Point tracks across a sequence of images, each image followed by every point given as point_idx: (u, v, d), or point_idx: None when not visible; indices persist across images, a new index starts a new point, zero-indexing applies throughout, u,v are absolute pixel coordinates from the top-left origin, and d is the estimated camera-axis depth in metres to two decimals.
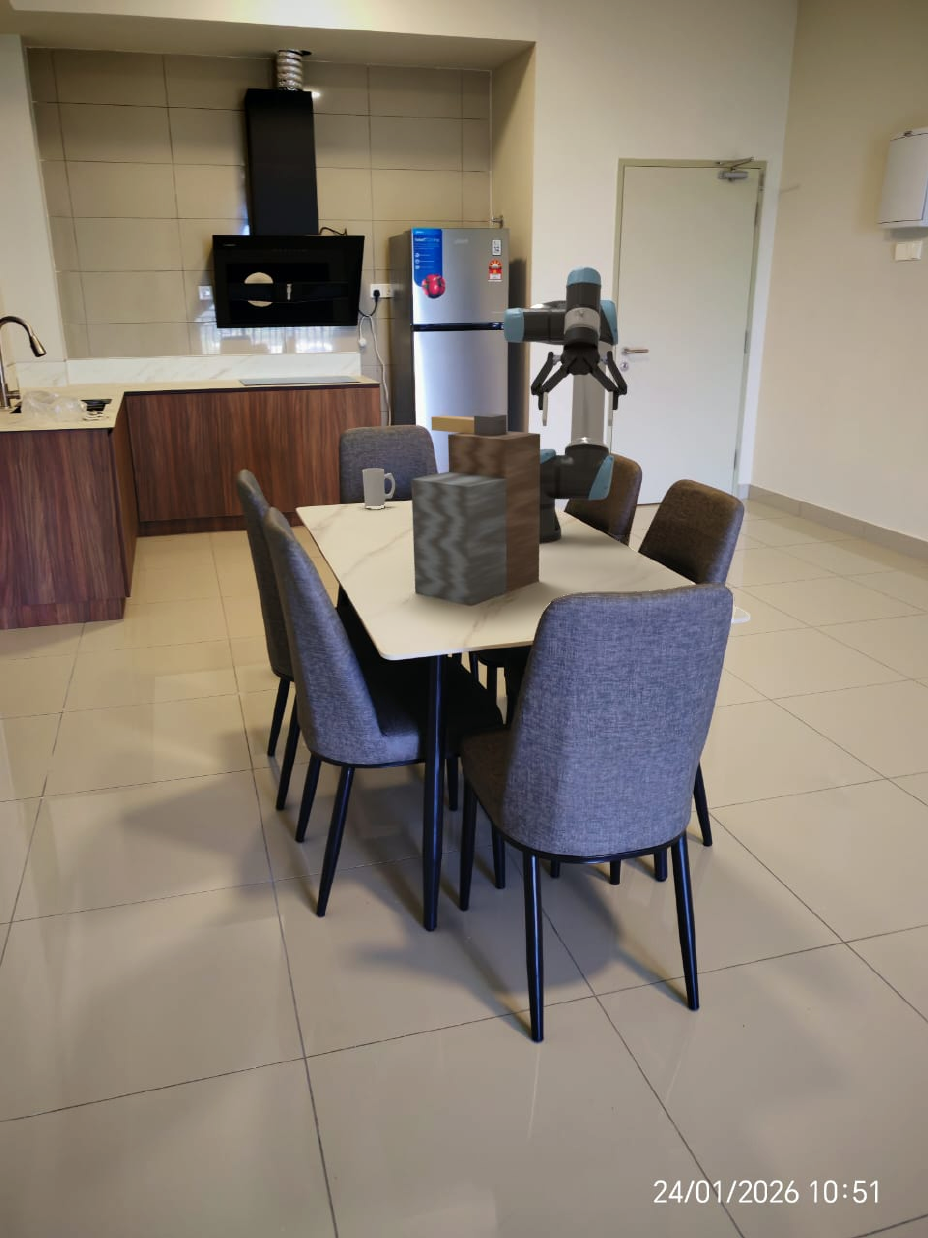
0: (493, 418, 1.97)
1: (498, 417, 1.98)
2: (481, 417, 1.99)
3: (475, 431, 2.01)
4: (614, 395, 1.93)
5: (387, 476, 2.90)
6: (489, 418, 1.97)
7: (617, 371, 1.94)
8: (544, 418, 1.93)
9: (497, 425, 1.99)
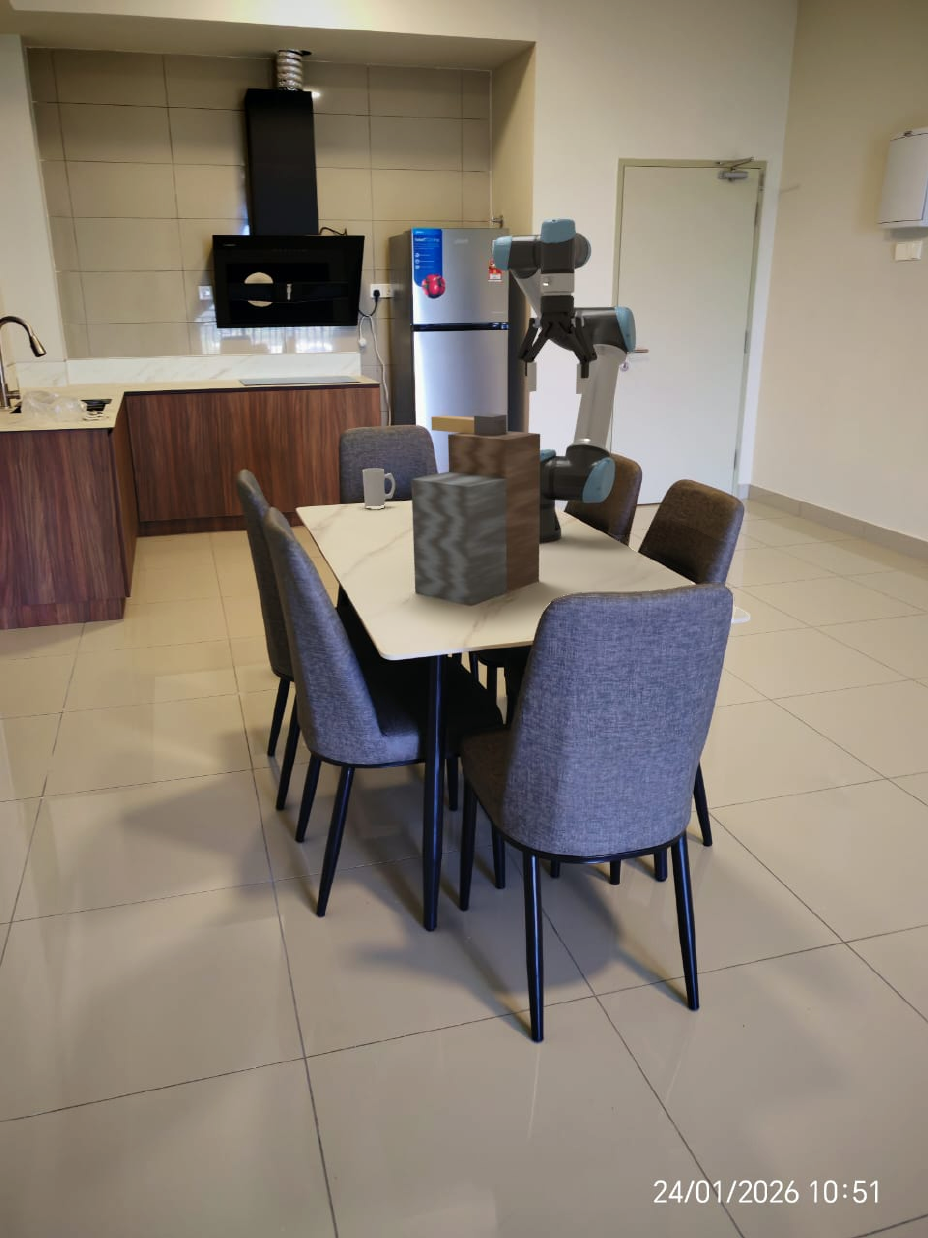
0: (493, 418, 1.97)
1: (498, 417, 1.98)
2: (481, 417, 1.99)
3: (475, 431, 2.01)
4: (582, 366, 2.06)
5: (387, 476, 2.90)
6: (489, 418, 1.97)
7: (583, 340, 2.03)
8: (528, 390, 2.16)
9: (497, 425, 1.99)
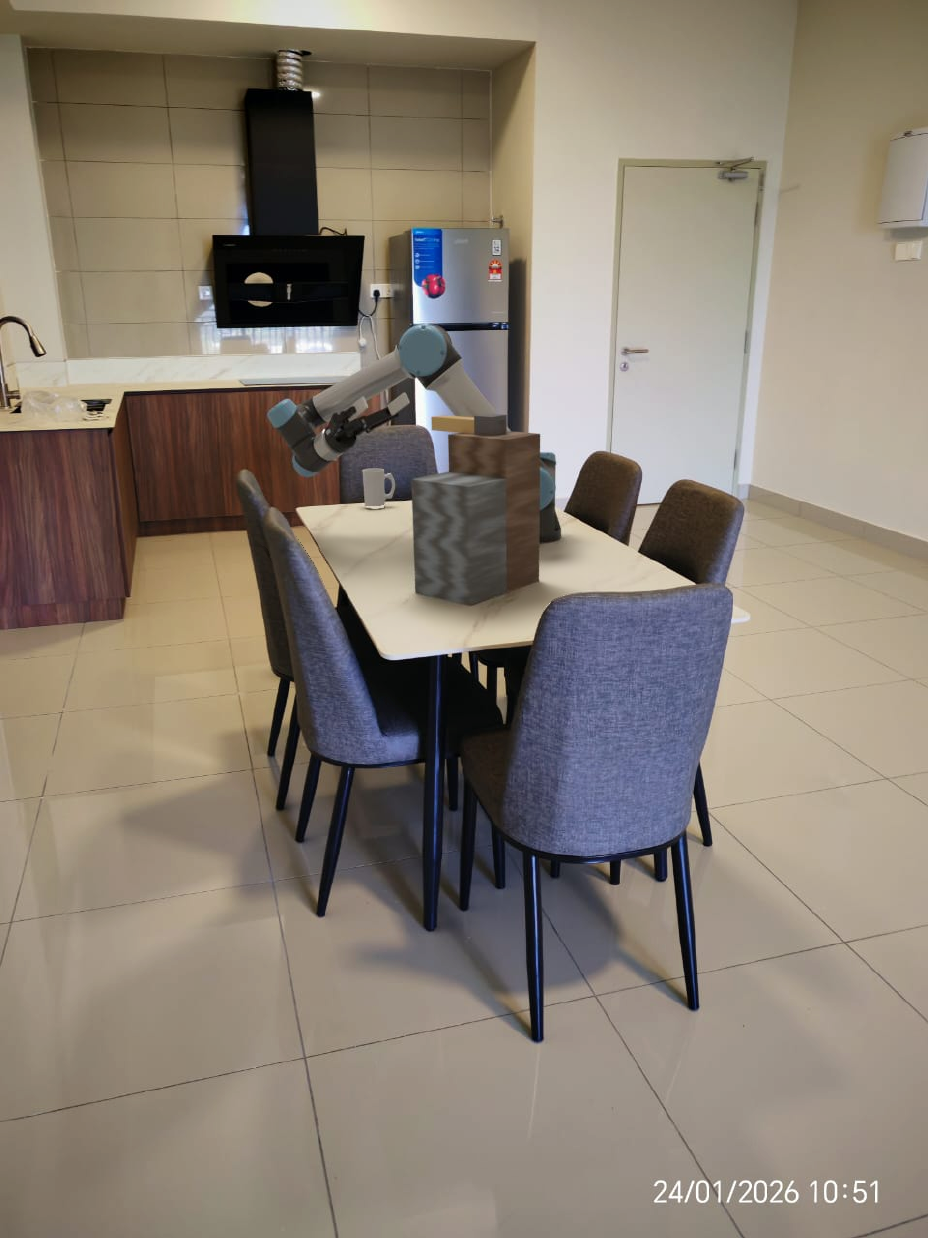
0: (493, 418, 1.97)
1: (498, 417, 1.98)
2: (481, 417, 1.99)
3: (475, 431, 2.01)
4: (349, 417, 2.14)
5: (387, 476, 2.90)
6: (489, 418, 1.97)
7: (335, 429, 2.17)
8: (408, 403, 2.20)
9: (497, 425, 1.99)
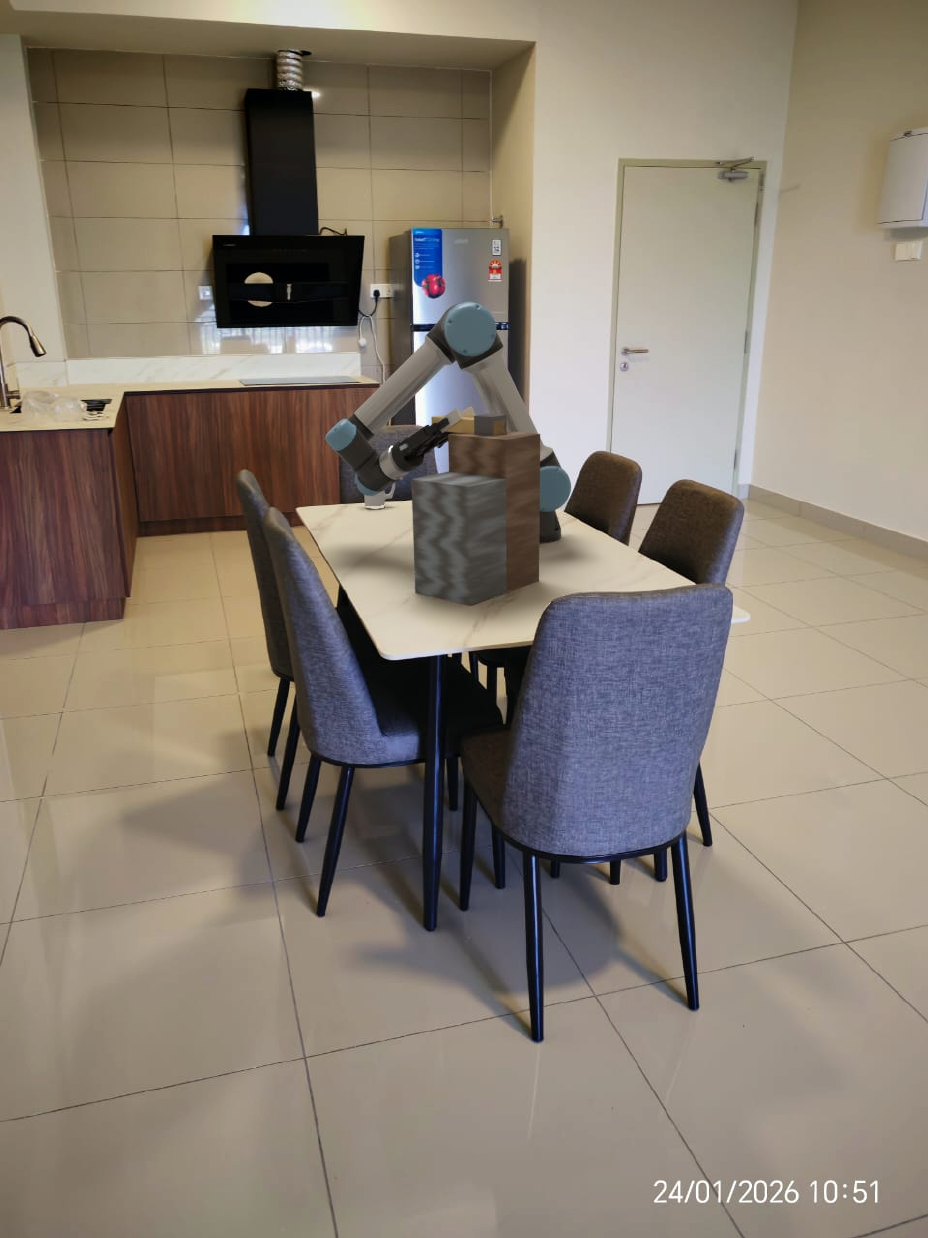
0: (493, 418, 1.97)
1: (498, 417, 1.98)
2: (481, 417, 1.99)
3: (475, 431, 2.01)
4: (441, 428, 2.06)
5: None
6: (489, 418, 1.97)
7: (419, 443, 2.08)
8: None
9: (497, 425, 1.99)
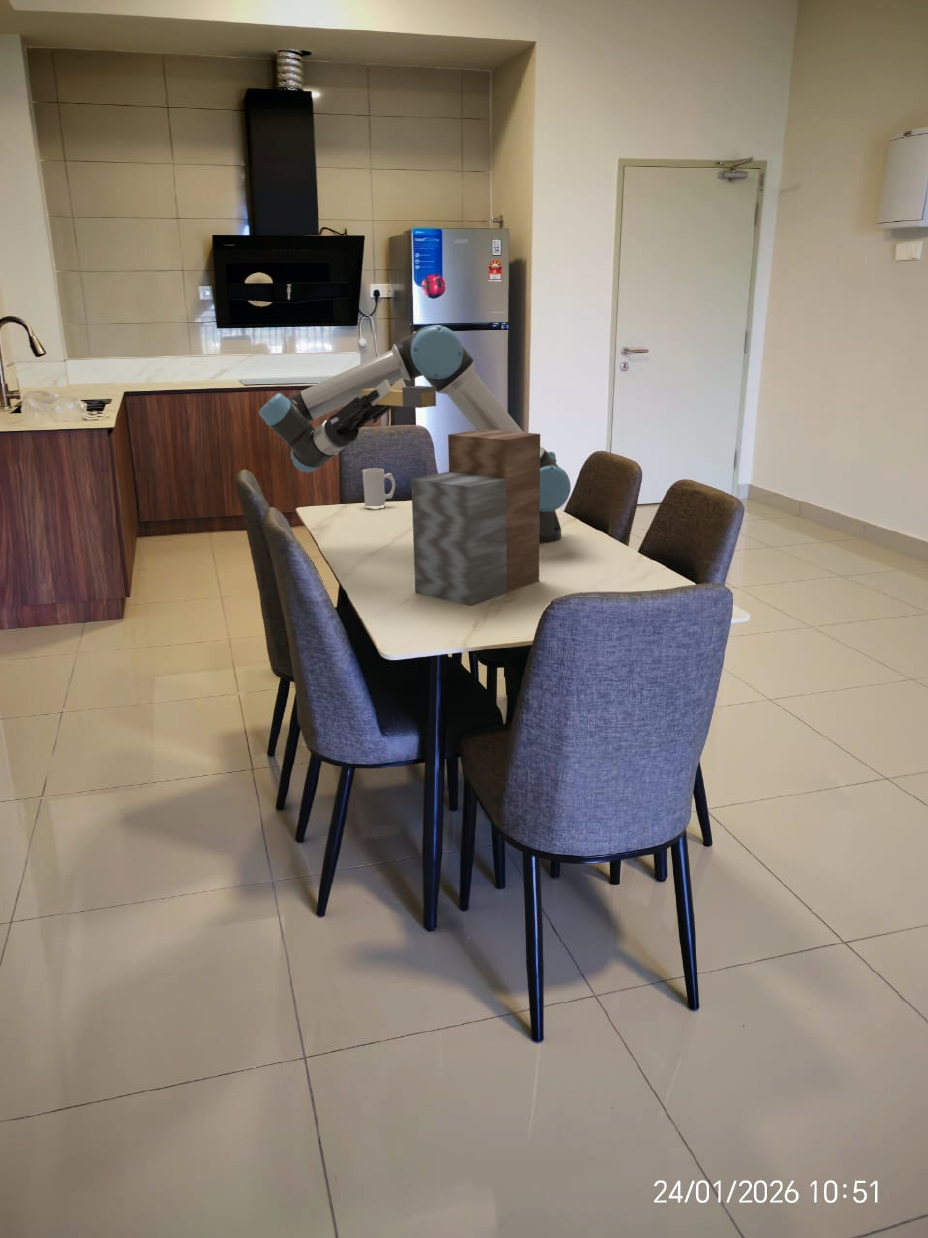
0: (421, 389, 1.94)
1: (426, 389, 1.95)
2: (409, 389, 1.95)
3: (404, 403, 1.97)
4: (371, 401, 2.03)
5: (387, 476, 2.90)
6: (416, 389, 1.94)
7: (349, 416, 2.05)
8: None
9: (426, 396, 1.95)
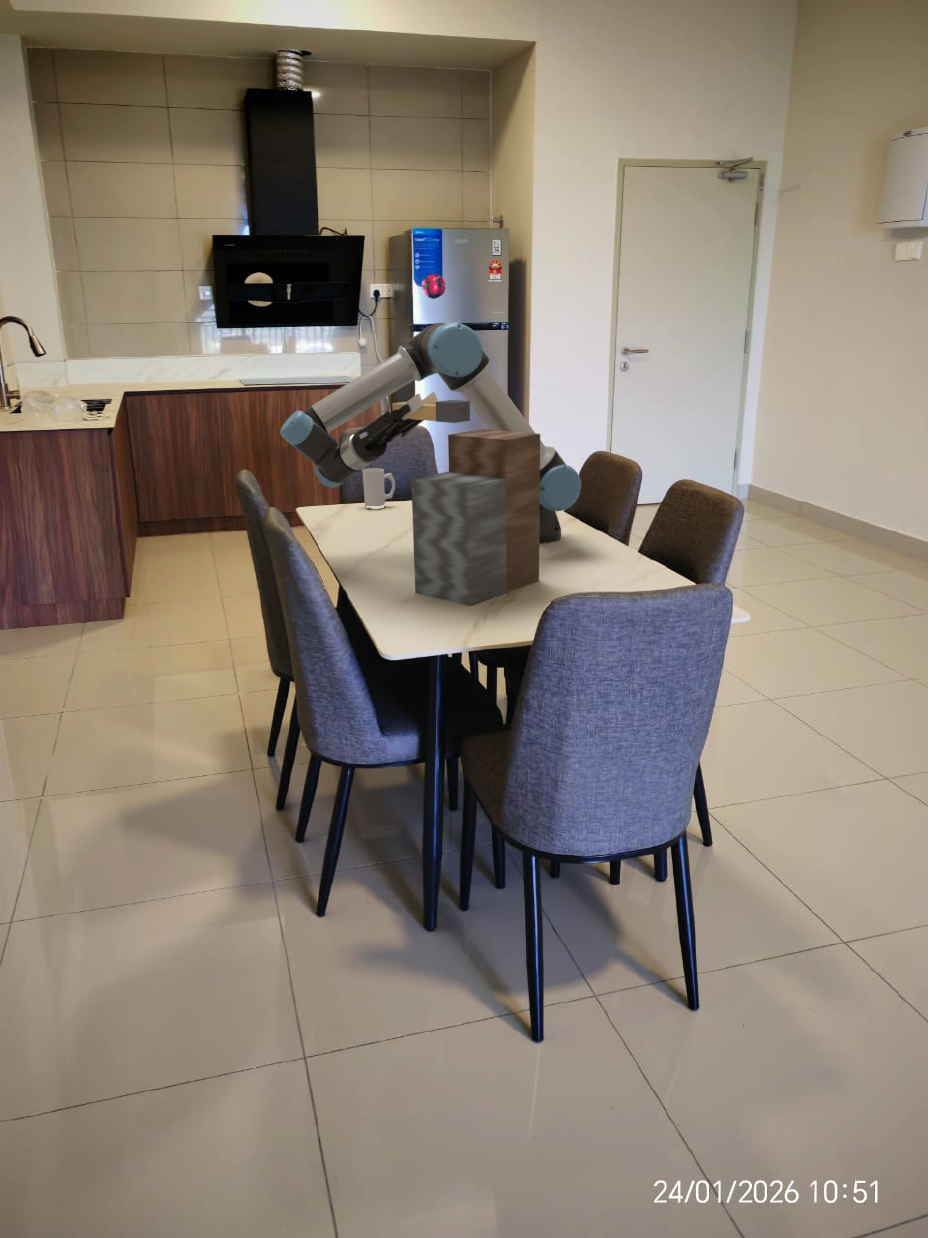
0: (455, 404, 1.87)
1: (460, 403, 1.89)
2: (443, 403, 1.89)
3: (437, 418, 1.91)
4: (402, 416, 1.96)
5: (387, 476, 2.90)
6: (451, 404, 1.87)
7: (379, 431, 1.99)
8: None
9: (460, 411, 1.89)
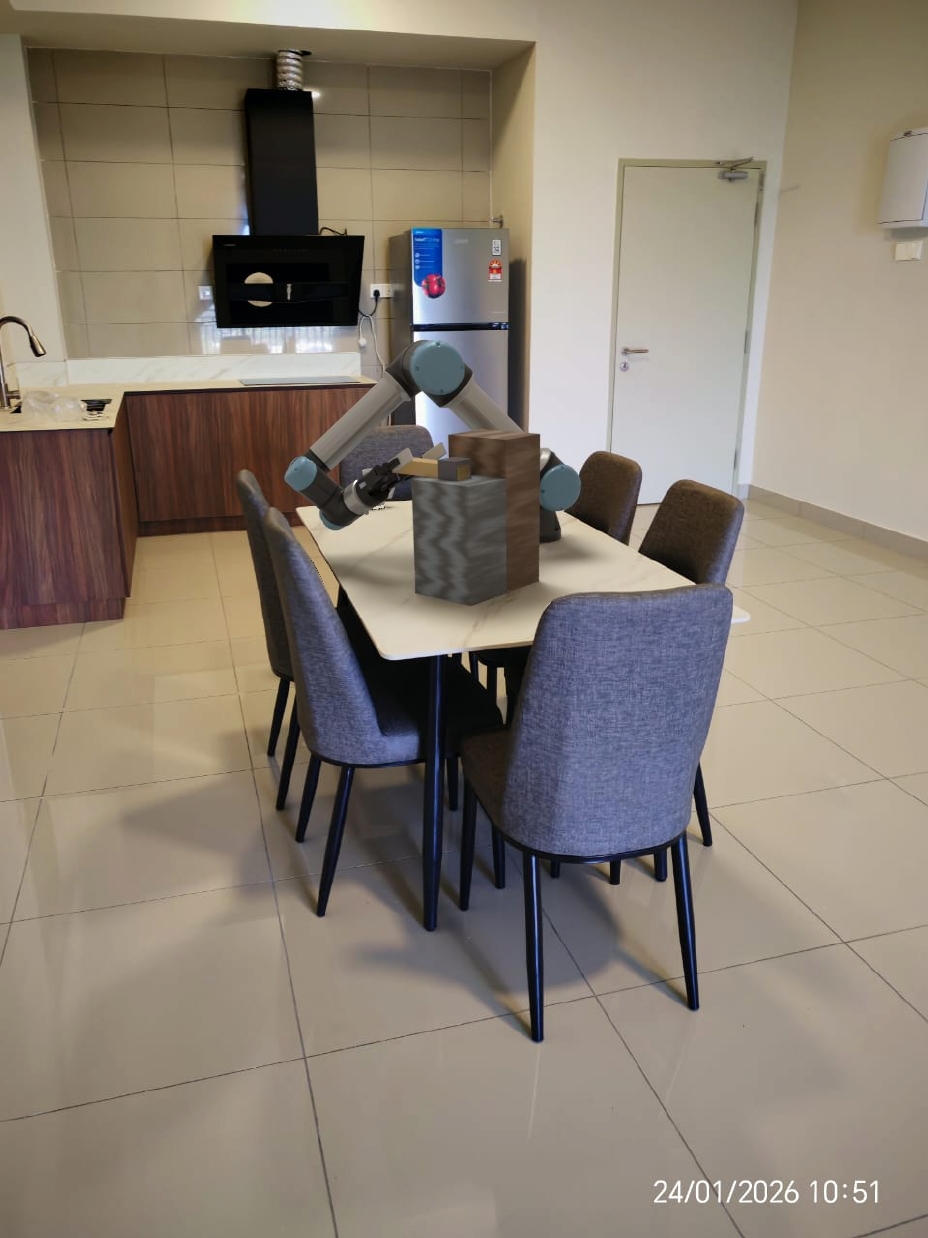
0: (457, 463, 1.91)
1: (462, 461, 1.92)
2: (444, 461, 1.93)
3: (439, 475, 1.95)
4: (392, 469, 1.98)
5: None
6: (452, 463, 1.91)
7: (373, 482, 2.01)
8: (445, 454, 2.02)
9: (461, 469, 1.93)
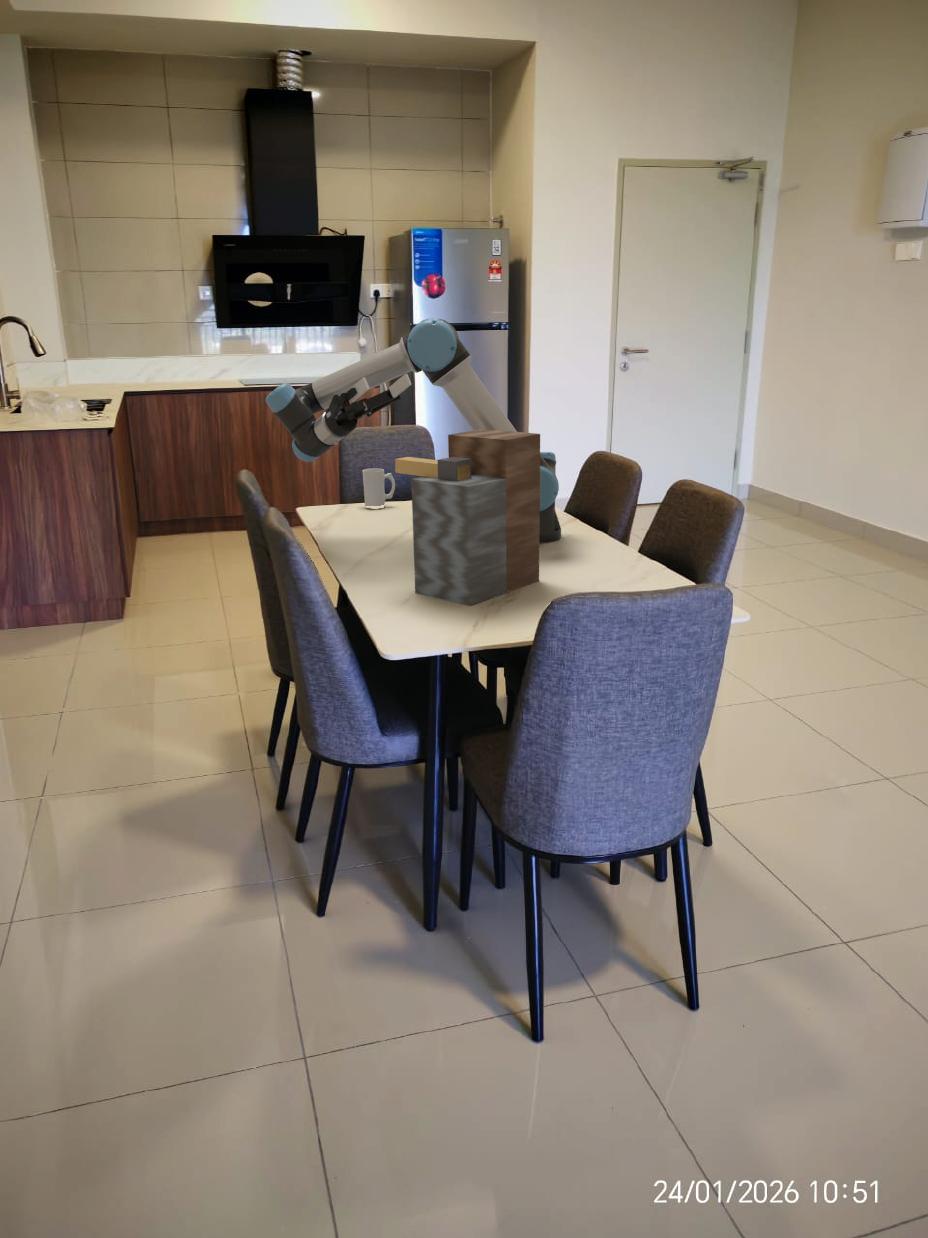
0: (457, 463, 1.91)
1: (462, 461, 1.92)
2: (444, 461, 1.93)
3: (439, 475, 1.95)
4: (350, 398, 2.10)
5: (387, 476, 2.90)
6: (452, 463, 1.91)
7: (336, 411, 2.13)
8: (409, 384, 2.16)
9: (461, 469, 1.93)
